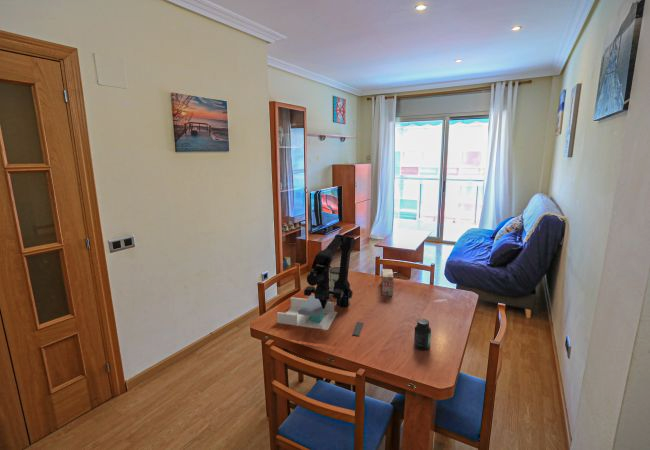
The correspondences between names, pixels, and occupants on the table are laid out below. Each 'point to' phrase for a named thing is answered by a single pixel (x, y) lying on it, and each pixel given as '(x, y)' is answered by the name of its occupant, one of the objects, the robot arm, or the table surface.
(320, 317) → the teal block
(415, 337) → the supplement bottle
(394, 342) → the table surface
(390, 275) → the stack of blocks
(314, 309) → the sliding cover
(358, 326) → the rubber mat
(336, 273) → the coffee can
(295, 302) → the open white tray
